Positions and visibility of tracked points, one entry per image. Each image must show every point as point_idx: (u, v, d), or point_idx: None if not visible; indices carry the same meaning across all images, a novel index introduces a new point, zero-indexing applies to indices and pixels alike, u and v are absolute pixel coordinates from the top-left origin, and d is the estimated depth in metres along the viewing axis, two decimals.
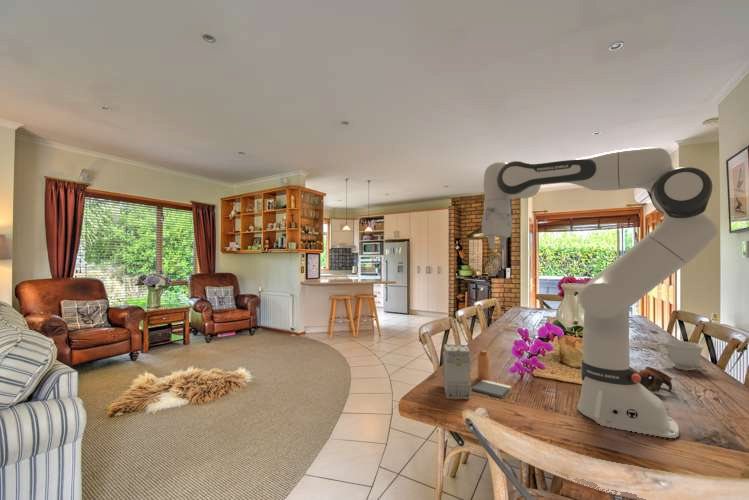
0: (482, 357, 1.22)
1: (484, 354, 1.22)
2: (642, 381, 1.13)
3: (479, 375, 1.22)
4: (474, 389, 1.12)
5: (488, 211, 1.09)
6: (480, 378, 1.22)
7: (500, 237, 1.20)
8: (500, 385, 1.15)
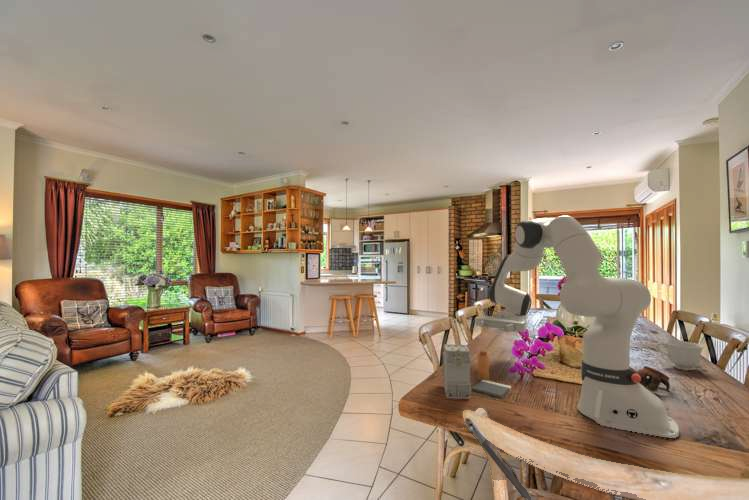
0: (482, 357, 1.22)
1: (484, 354, 1.22)
2: (640, 381, 1.14)
3: (479, 375, 1.22)
4: (474, 389, 1.12)
5: None
6: (480, 378, 1.22)
7: None
8: (500, 385, 1.15)
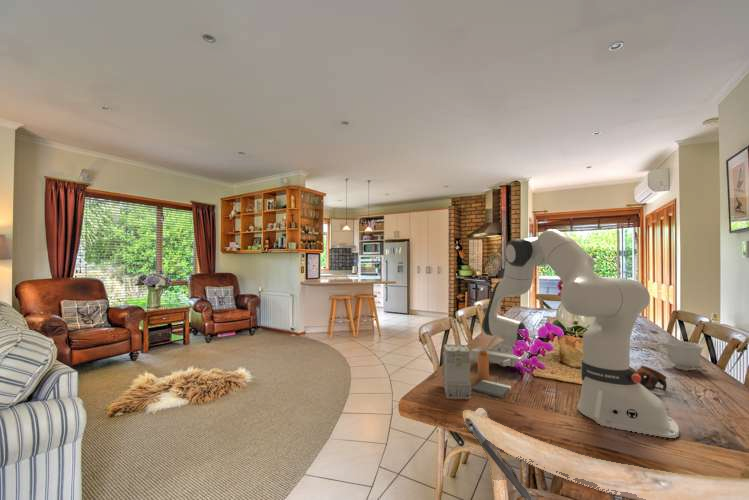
0: (482, 357, 1.22)
1: (484, 354, 1.22)
2: None
3: (479, 375, 1.22)
4: (474, 389, 1.12)
5: None
6: (480, 378, 1.22)
7: None
8: (500, 385, 1.15)
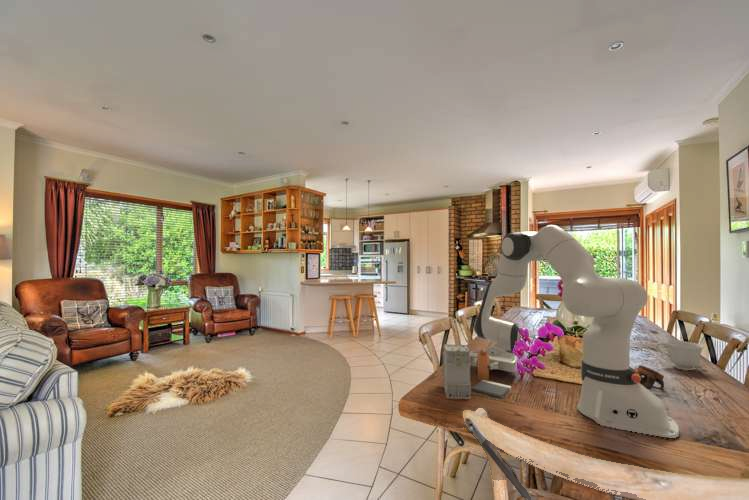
0: (482, 357, 1.22)
1: (484, 354, 1.22)
2: None
3: (479, 375, 1.22)
4: (474, 389, 1.12)
5: None
6: (480, 378, 1.22)
7: None
8: (500, 385, 1.15)
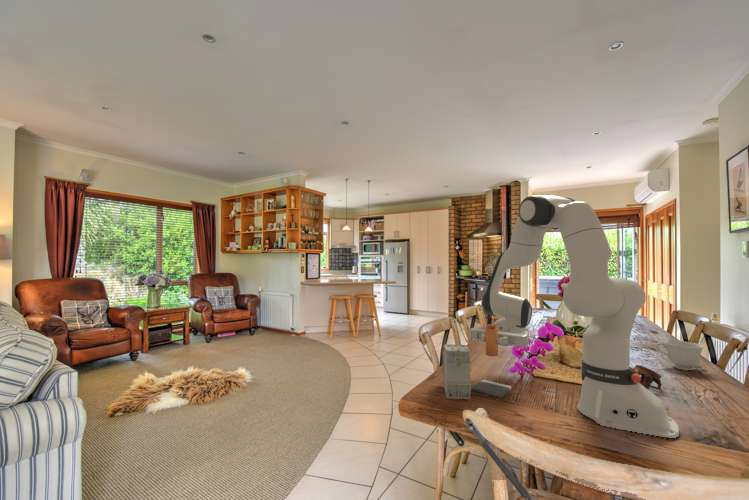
0: (490, 331, 1.12)
1: (492, 327, 1.12)
2: None
3: (487, 350, 1.12)
4: (474, 389, 1.12)
5: None
6: (488, 353, 1.12)
7: None
8: (500, 385, 1.15)
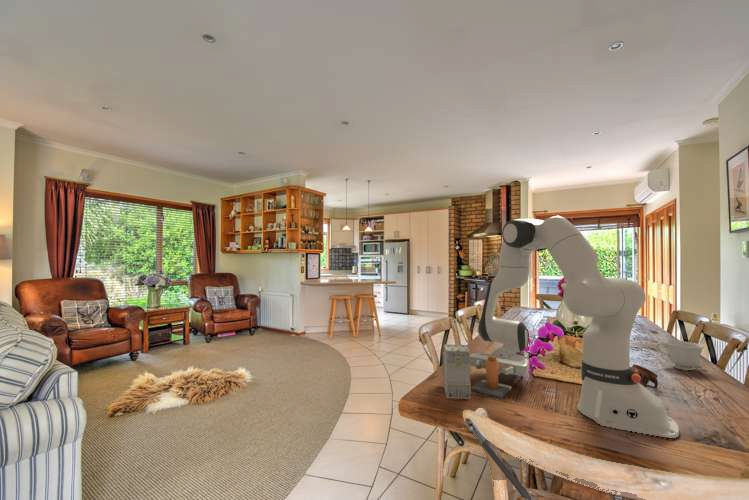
0: (491, 363, 1.12)
1: (493, 360, 1.12)
2: None
3: (488, 383, 1.12)
4: (474, 389, 1.12)
5: None
6: (489, 386, 1.12)
7: None
8: (500, 385, 1.15)
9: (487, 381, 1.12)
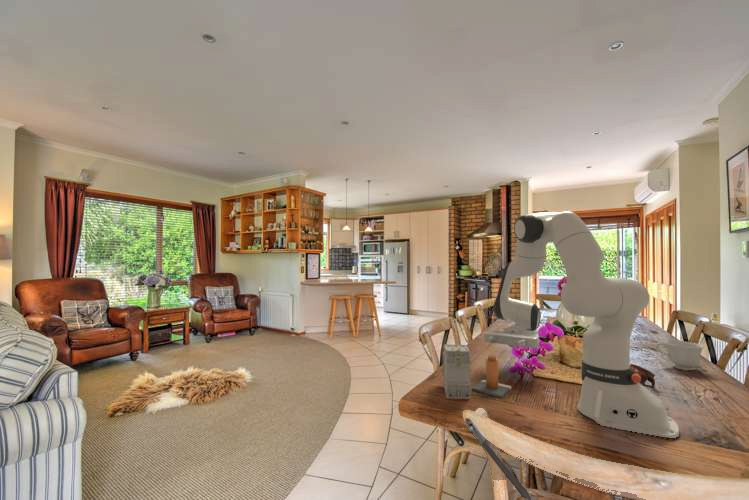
0: (490, 364, 1.11)
1: (493, 360, 1.12)
2: None
3: (488, 383, 1.12)
4: (474, 389, 1.12)
5: None
6: (489, 386, 1.12)
7: None
8: (500, 385, 1.15)
9: (487, 381, 1.12)
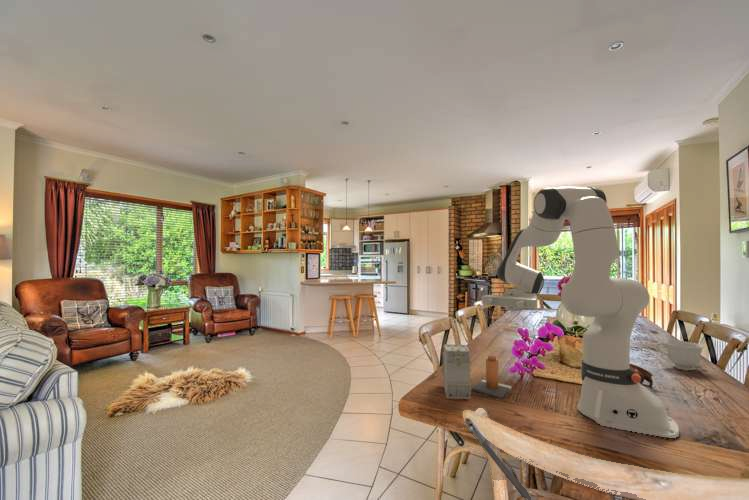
0: (491, 364, 1.12)
1: (493, 360, 1.12)
2: None
3: (488, 383, 1.12)
4: (474, 389, 1.12)
5: None
6: (489, 386, 1.12)
7: None
8: (500, 385, 1.15)
9: (487, 381, 1.12)
